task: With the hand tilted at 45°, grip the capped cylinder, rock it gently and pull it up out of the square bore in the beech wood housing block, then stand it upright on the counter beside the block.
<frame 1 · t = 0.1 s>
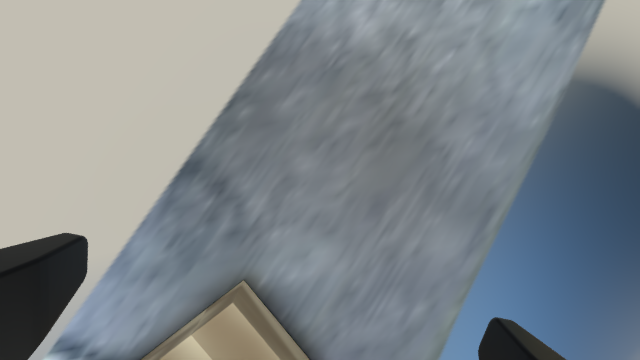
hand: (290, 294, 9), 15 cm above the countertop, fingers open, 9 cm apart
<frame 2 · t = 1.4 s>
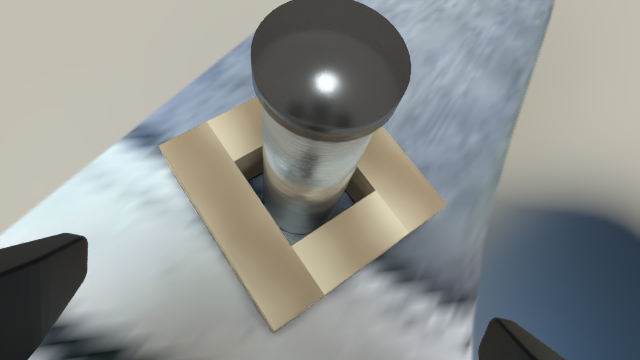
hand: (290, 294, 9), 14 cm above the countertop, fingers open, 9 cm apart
capped cylinder: (300, 198, 24), resting in housing
housing: (300, 198, 24), on the countertop
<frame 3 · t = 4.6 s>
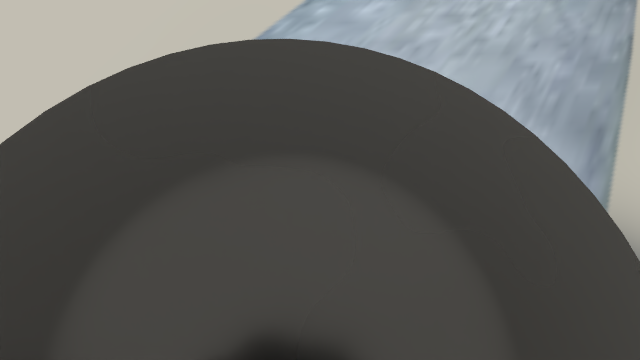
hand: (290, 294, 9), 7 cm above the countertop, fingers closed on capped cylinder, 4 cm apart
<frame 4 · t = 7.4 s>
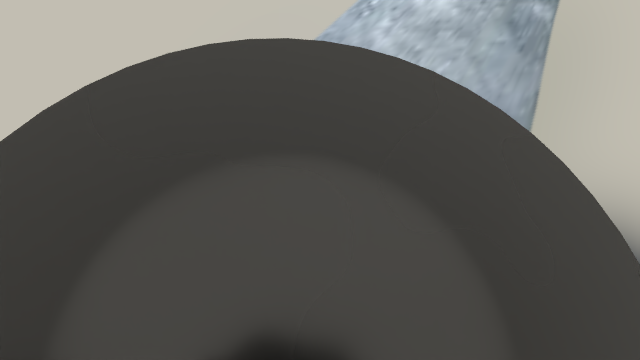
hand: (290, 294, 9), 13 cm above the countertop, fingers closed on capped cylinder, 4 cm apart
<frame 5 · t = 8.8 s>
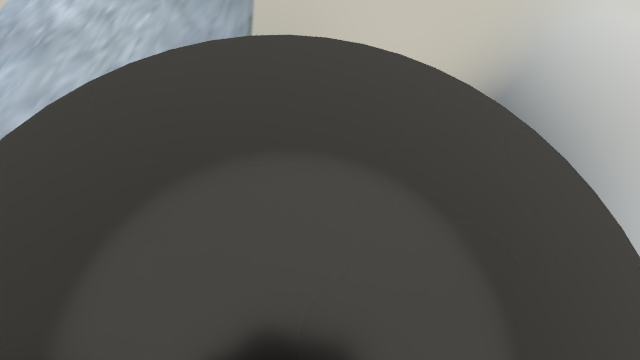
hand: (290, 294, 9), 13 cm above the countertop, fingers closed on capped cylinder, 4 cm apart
when the fingers open (8 cm above the countertop, at t = 10.2 s): capped cylinder drops 1 cm, on the countertop.
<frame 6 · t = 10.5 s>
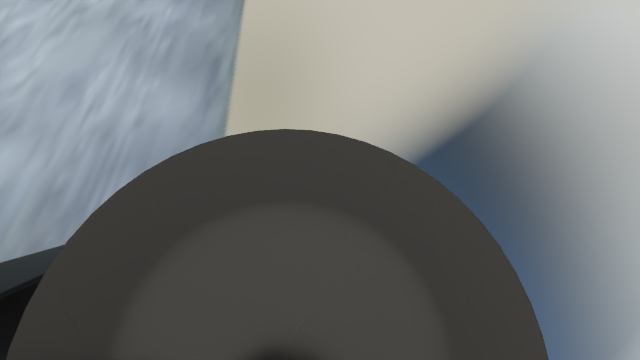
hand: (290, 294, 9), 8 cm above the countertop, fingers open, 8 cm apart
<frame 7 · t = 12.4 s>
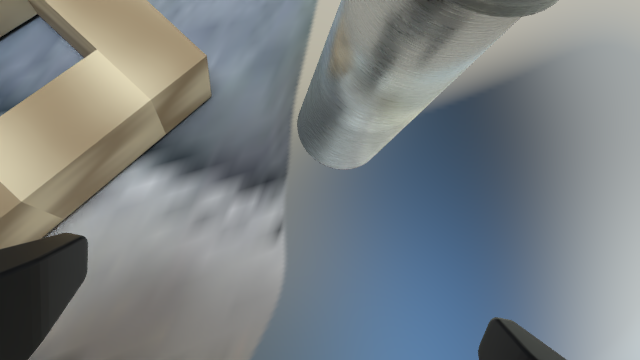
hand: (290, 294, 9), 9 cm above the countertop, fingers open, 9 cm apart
capped cylinder: (340, 127, 20), on the countertop
housing: (27, 89, 17), on the countertop
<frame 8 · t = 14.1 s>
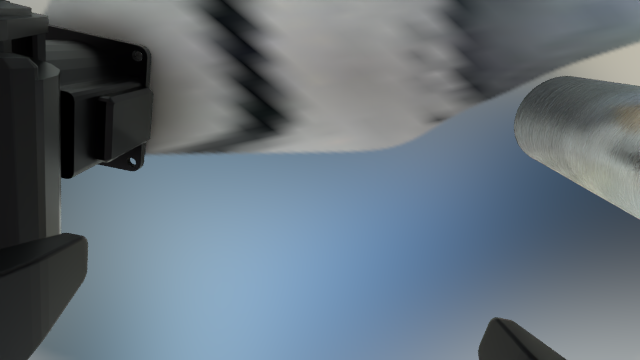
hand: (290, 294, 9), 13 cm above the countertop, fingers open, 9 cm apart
capped cylinder: (558, 120, 20), on the countertop
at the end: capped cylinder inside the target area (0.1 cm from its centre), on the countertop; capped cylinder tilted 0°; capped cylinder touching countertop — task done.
